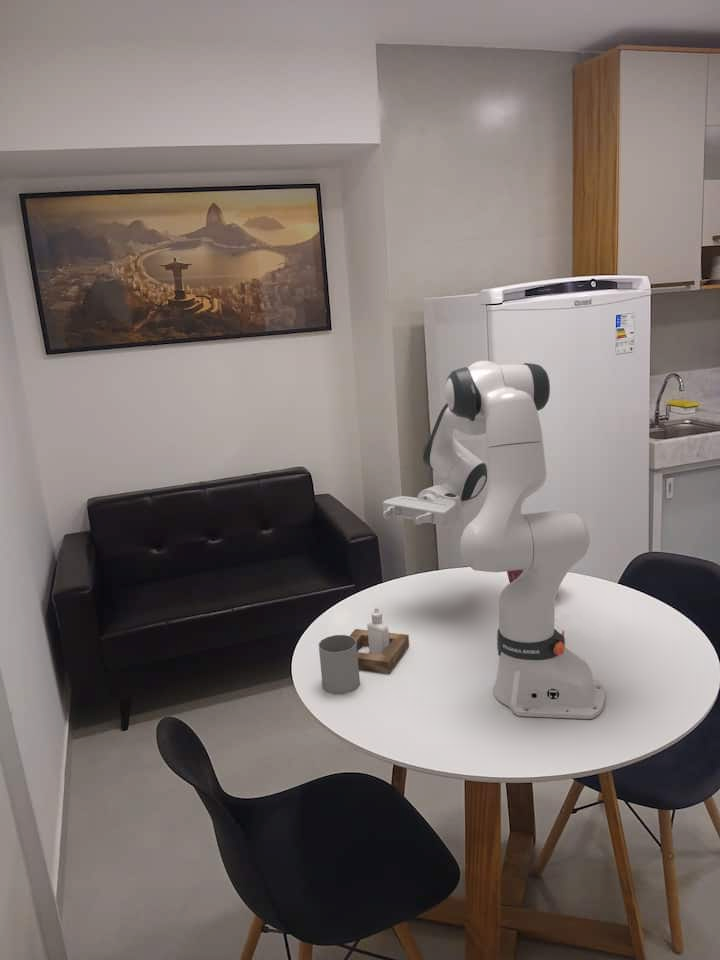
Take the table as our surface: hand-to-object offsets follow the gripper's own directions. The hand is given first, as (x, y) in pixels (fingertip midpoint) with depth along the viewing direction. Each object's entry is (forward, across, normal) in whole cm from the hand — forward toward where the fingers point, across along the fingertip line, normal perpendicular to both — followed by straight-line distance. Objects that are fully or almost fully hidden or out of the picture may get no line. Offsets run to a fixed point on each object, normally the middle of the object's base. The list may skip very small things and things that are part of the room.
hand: (399, 518), depth 179 cm
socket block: (+15, +2, +30) cm, 34 cm away
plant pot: (-35, +15, +30) cm, 49 cm away
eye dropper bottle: (+14, +3, +30) cm, 33 cm away
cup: (+29, +5, +30) cm, 42 cm away
